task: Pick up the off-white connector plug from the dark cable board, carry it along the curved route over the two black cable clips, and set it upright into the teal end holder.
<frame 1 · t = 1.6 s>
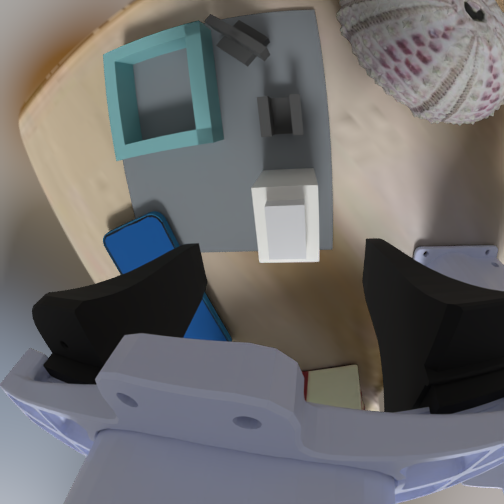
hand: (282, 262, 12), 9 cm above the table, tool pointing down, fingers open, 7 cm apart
connector plug: (290, 199, 20), resting on cable board
cable board: (214, 136, 19), on the table
gift box: (296, 405, 32), on the table
sea urchin shell: (419, 39, 13), on the table
smartphone: (170, 289, 26), on the table, touching cable board
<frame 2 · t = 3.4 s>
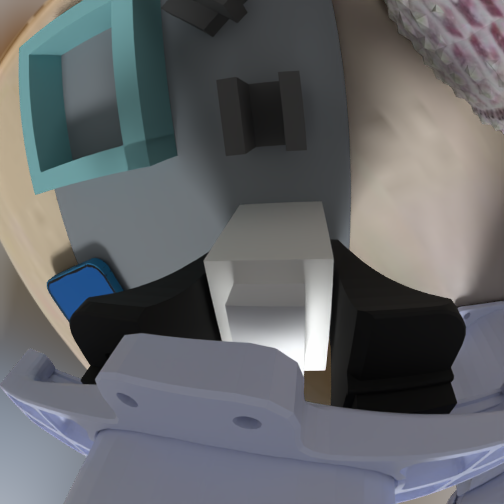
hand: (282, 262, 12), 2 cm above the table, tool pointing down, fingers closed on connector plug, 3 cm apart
connector plug: (283, 250, 13), resting on cable board, touching gripper
cable board: (165, 151, 12), on the table
sea urchin shell: (471, 11, 6), on the table
smartphone: (131, 348, 19), on the table, touching cable board
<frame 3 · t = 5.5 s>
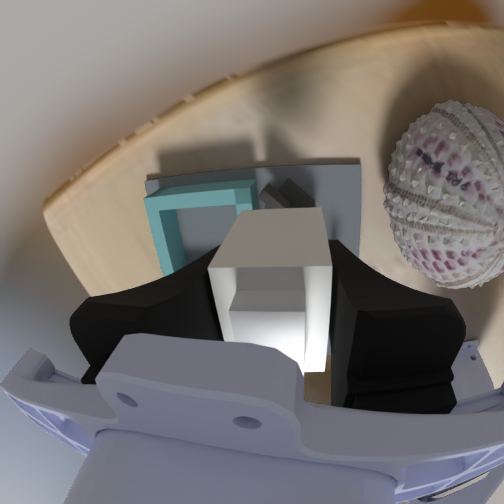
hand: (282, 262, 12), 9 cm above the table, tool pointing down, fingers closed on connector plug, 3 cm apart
connector plug: (284, 254, 13), point 8 cm above the table, touching gripper
cable board: (258, 278, 23), on the table
sea urchin shell: (451, 186, 17), on the table
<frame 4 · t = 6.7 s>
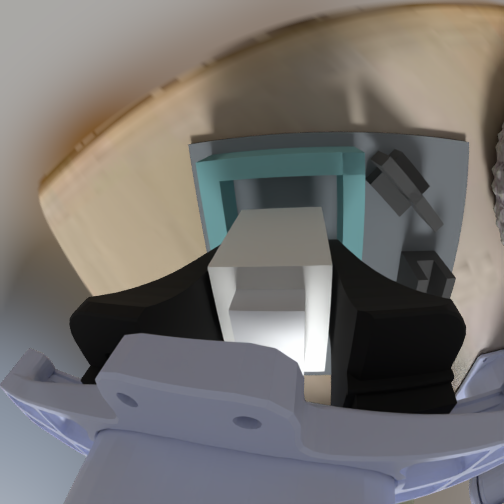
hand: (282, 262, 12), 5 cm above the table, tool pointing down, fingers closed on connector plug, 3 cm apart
connector plug: (284, 254, 13), point 3 cm above the table, touching gripper
cable board: (338, 280, 17), on the table
when the fingers open (3 cm above the table, at t = 7.7 s): connector plug drops 2 cm, resting on cable board.
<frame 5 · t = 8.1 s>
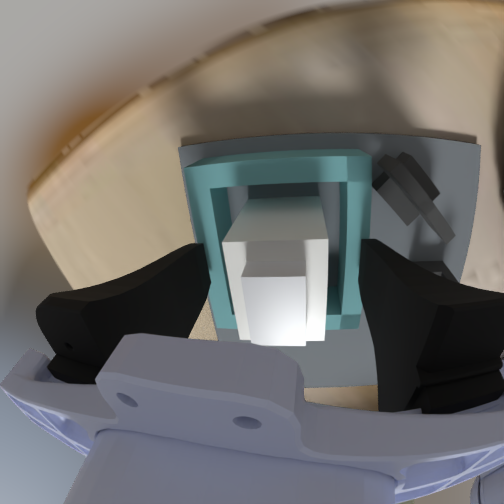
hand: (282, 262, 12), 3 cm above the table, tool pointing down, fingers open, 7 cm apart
connector plug: (286, 239, 14), resting on cable board
cable board: (340, 292, 16), on the table
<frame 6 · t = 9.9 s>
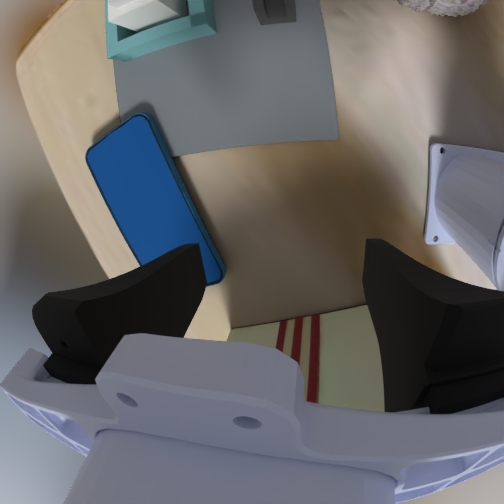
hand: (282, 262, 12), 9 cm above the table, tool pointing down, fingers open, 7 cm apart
connector plug: (164, 5, 14), resting on cable board
cable board: (208, 34, 15), on the table
gift box: (305, 368, 28), on the table
smartphone: (154, 209, 22), on the table, touching cable board
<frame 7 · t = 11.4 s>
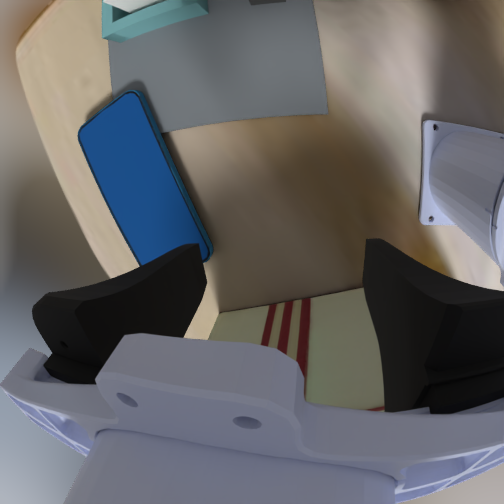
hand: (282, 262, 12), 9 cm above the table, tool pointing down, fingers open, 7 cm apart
cable board: (200, 15, 14), on the table
gift box: (296, 357, 28), on the table
smartphone: (143, 186, 21), on the table, touching cable board
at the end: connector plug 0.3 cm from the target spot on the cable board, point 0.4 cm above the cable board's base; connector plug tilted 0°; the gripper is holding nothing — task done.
